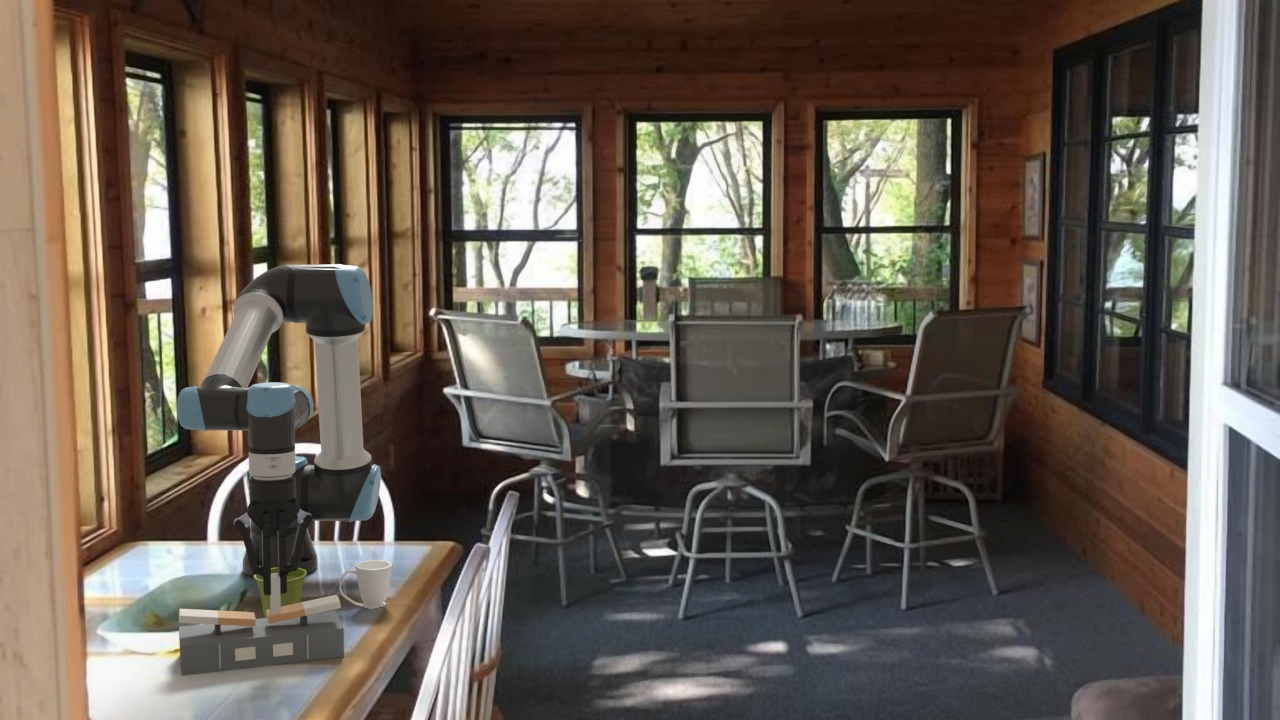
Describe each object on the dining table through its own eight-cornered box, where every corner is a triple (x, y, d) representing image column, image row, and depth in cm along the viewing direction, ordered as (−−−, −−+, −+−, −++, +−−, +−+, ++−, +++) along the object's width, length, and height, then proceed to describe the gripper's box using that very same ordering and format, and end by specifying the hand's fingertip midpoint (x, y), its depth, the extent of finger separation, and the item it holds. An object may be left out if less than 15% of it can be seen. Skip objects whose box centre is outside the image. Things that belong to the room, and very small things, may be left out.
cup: (392, 610, 243) (391, 569, 242) (338, 612, 241) (337, 570, 240) (393, 599, 250) (393, 559, 249) (341, 601, 248) (340, 560, 247)
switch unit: (179, 655, 217) (178, 617, 217) (336, 638, 227) (335, 602, 226) (181, 676, 208) (180, 636, 207) (344, 657, 217) (343, 619, 216)
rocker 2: (266, 616, 219) (265, 610, 219) (337, 601, 223) (336, 594, 223) (269, 623, 215) (267, 617, 215) (341, 607, 219) (339, 601, 219)
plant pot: (260, 630, 231) (259, 583, 230) (250, 615, 239) (249, 570, 238) (313, 623, 235) (312, 577, 234) (301, 608, 243) (300, 564, 242)
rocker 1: (178, 615, 214) (179, 608, 214) (252, 619, 218) (253, 612, 218) (179, 622, 210) (180, 615, 210) (254, 626, 214) (255, 619, 214)
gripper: (233, 482, 209) (236, 623, 212) (315, 477, 213) (317, 615, 216) (230, 473, 216) (233, 609, 218) (309, 469, 220) (312, 602, 223)
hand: (275, 612), depth 217 cm, fingers closed
